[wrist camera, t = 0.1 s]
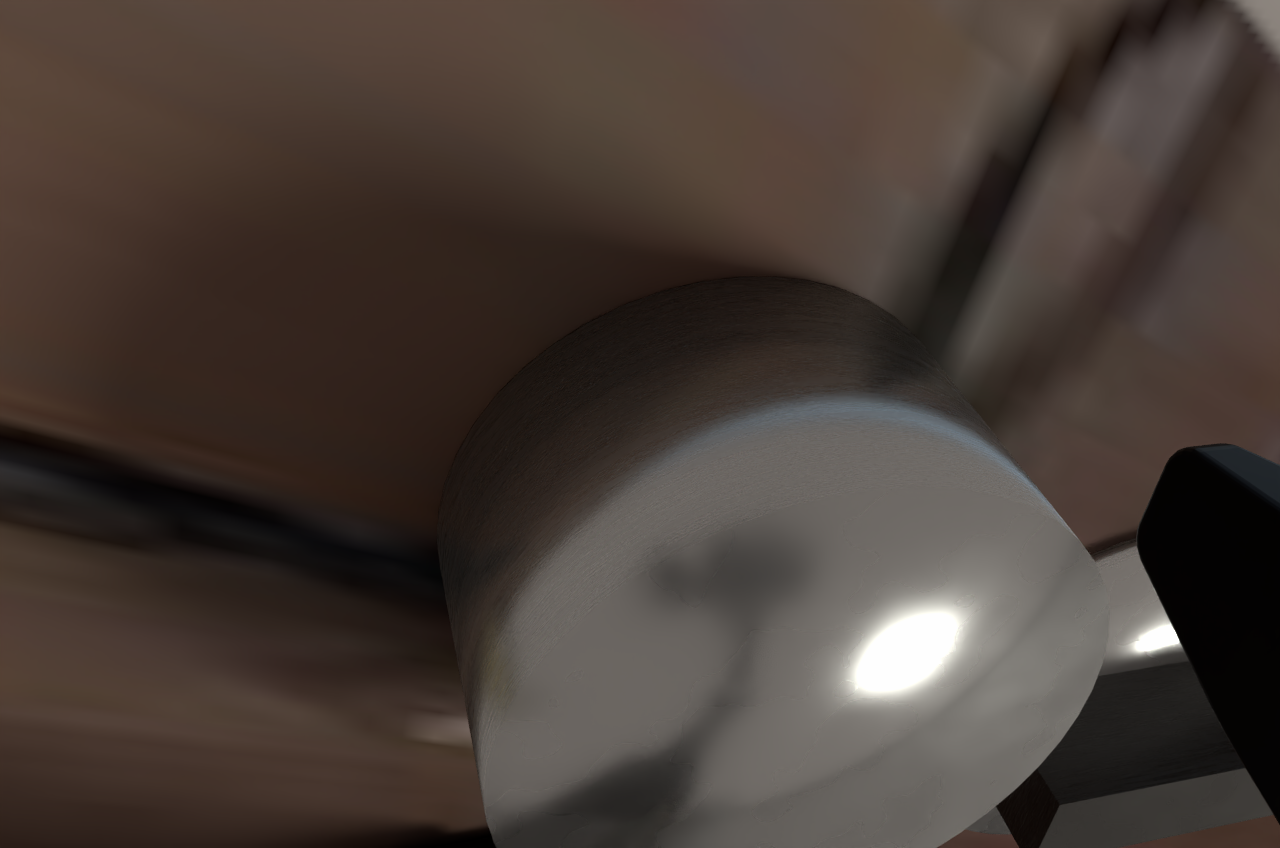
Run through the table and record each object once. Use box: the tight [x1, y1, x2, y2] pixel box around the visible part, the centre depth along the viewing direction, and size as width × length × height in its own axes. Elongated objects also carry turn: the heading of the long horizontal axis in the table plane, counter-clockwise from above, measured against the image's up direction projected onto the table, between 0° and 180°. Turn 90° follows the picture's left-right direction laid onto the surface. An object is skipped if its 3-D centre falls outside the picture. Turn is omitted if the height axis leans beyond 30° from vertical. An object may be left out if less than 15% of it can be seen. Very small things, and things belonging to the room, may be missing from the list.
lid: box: [966, 538, 1273, 848], centre depth 37 cm, size 14×14×5 cm
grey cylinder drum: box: [437, 277, 1110, 848], centre depth 26 cm, size 13×13×7 cm
